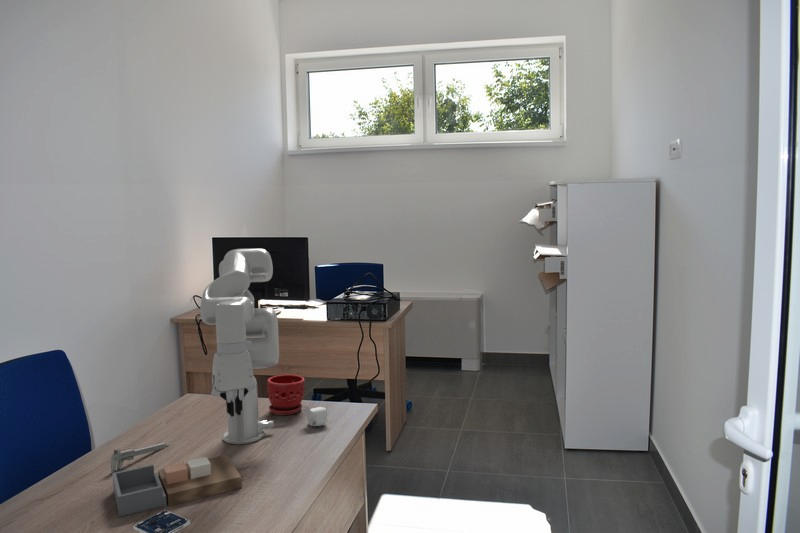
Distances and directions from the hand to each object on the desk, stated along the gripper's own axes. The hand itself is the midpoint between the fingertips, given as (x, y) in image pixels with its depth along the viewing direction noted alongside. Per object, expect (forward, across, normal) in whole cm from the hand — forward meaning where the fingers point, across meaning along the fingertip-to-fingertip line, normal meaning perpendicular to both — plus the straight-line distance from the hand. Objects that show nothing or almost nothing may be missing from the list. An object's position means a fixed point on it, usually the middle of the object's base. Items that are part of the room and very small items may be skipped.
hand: (234, 414), depth 160 cm
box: (+17, +25, 0) cm, 30 cm away
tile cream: (+14, +10, 0) cm, 17 cm away
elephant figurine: (+17, -33, -23) cm, 44 cm away
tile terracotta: (+14, +16, 0) cm, 21 cm away
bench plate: (+17, +10, 0) cm, 20 cm away
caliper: (+18, +21, -26) cm, 38 cm away
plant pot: (+17, -29, -42) cm, 54 cm away
